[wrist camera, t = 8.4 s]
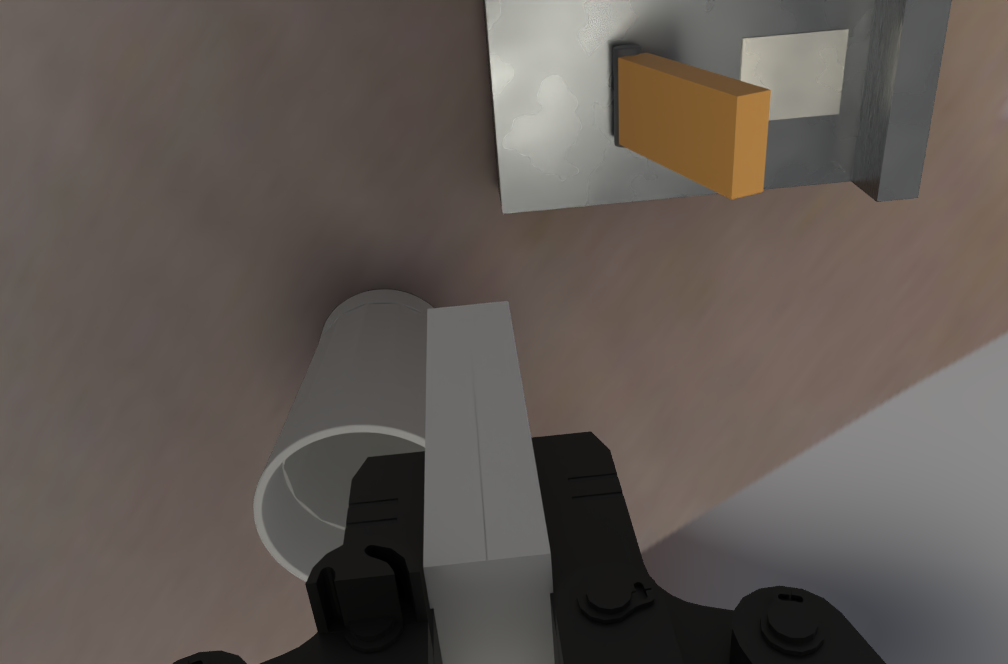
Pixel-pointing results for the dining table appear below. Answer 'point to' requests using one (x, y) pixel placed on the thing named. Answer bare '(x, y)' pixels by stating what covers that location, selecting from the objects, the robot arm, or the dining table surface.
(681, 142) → the paddle
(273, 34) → the dining table surface
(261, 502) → the cup
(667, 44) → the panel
